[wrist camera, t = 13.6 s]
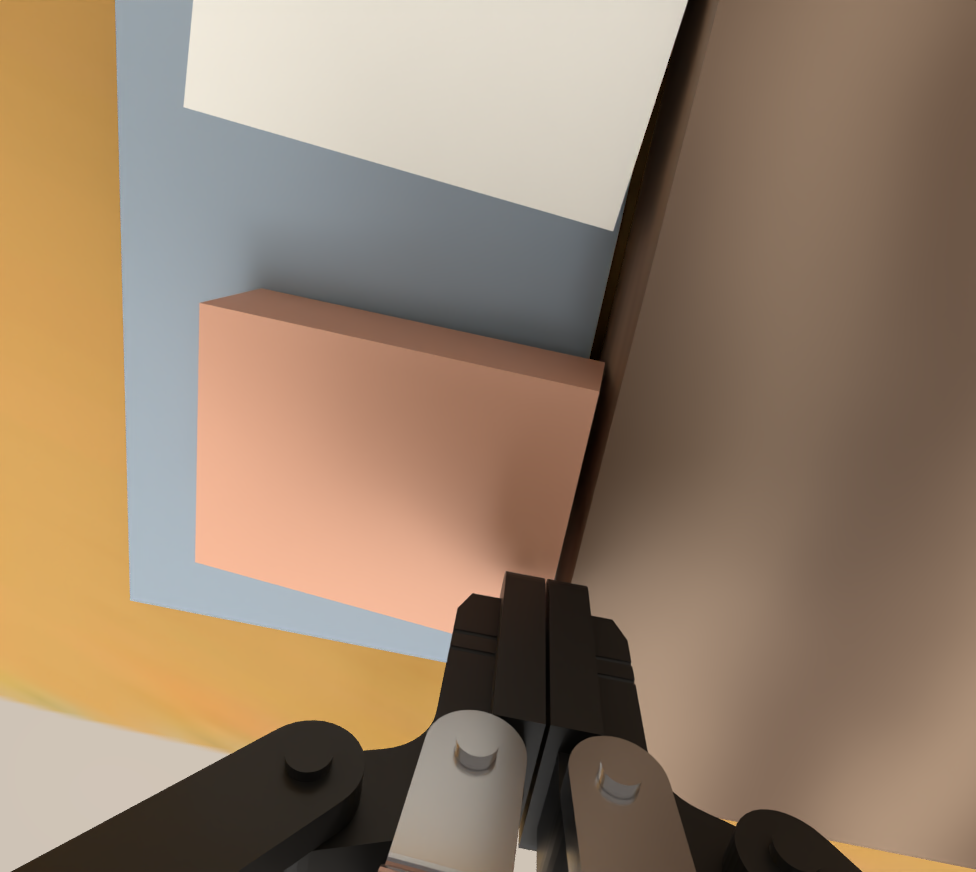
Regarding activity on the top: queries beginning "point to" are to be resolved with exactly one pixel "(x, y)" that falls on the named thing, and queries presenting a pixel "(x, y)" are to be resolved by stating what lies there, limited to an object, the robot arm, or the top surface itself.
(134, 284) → the slate mat
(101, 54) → the top surface
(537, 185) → the cream tile
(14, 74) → the top surface
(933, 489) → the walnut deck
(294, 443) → the terracotta tile
